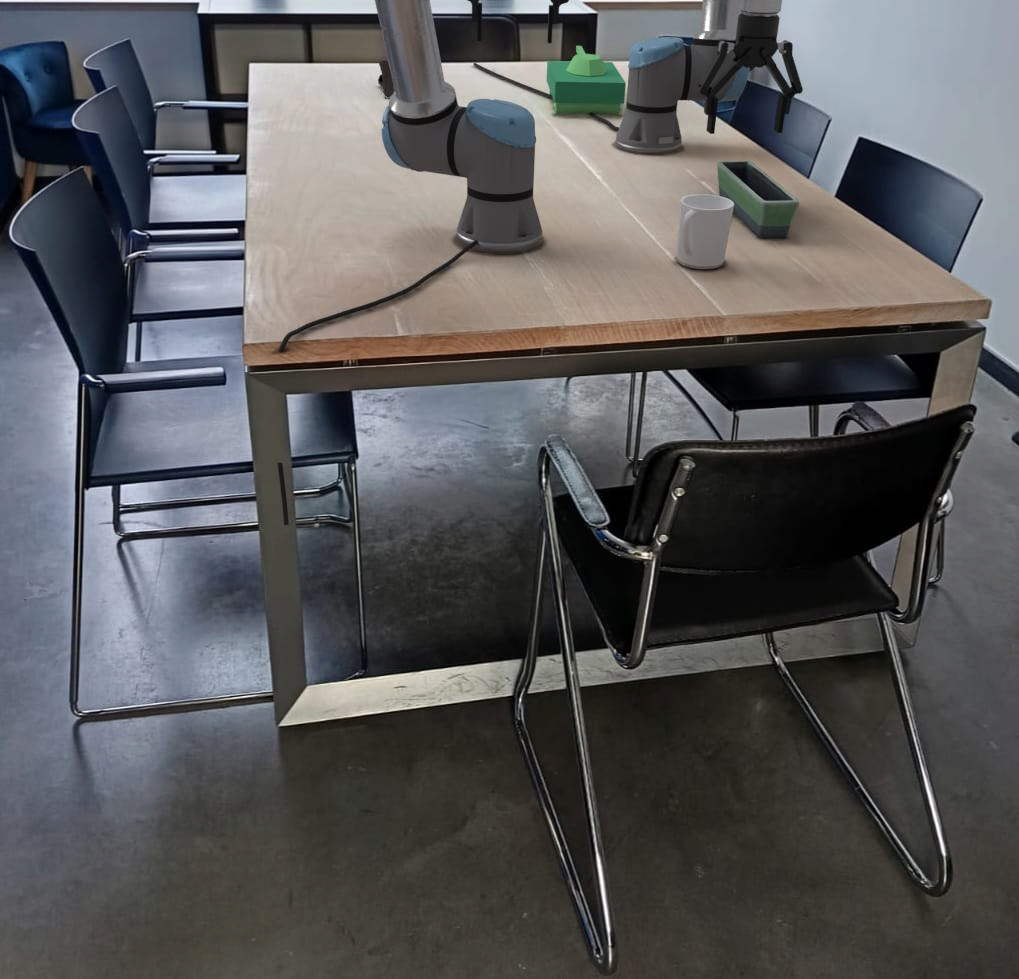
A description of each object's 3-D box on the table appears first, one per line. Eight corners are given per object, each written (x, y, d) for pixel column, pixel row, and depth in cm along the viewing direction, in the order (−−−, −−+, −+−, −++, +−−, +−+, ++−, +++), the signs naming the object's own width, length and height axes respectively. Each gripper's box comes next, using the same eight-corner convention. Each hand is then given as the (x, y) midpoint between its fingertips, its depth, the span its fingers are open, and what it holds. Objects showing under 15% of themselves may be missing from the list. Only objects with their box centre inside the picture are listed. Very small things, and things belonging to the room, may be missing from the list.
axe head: (443, 87, 294) (392, 77, 287) (436, 115, 299) (385, 106, 292) (421, 62, 307) (371, 52, 300) (414, 89, 311) (365, 80, 304)
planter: (794, 240, 199) (801, 201, 195) (756, 241, 198) (762, 201, 195) (746, 195, 222) (751, 160, 219) (712, 196, 222) (716, 160, 218)
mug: (691, 248, 193) (697, 191, 188) (736, 260, 189) (743, 201, 183) (657, 264, 186) (663, 205, 181) (703, 277, 181) (710, 216, 176)
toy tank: (609, 42, 301) (627, 67, 272) (606, 88, 308) (623, 118, 278) (545, 41, 301) (556, 65, 271) (543, 87, 307) (553, 116, 277)
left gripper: (584, -81, 205) (577, 40, 216) (451, -86, 205) (451, 36, 216) (586, -79, 199) (579, 46, 209) (449, -83, 198) (449, 42, 209)
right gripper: (816, 10, 206) (798, 126, 217) (687, 10, 202) (676, 127, 213) (831, 16, 199) (812, 135, 210) (699, 16, 196) (687, 137, 207)
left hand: (514, 41), depth 213 cm, fingers open, 13 cm apart
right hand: (744, 131), depth 212 cm, fingers open, 13 cm apart
